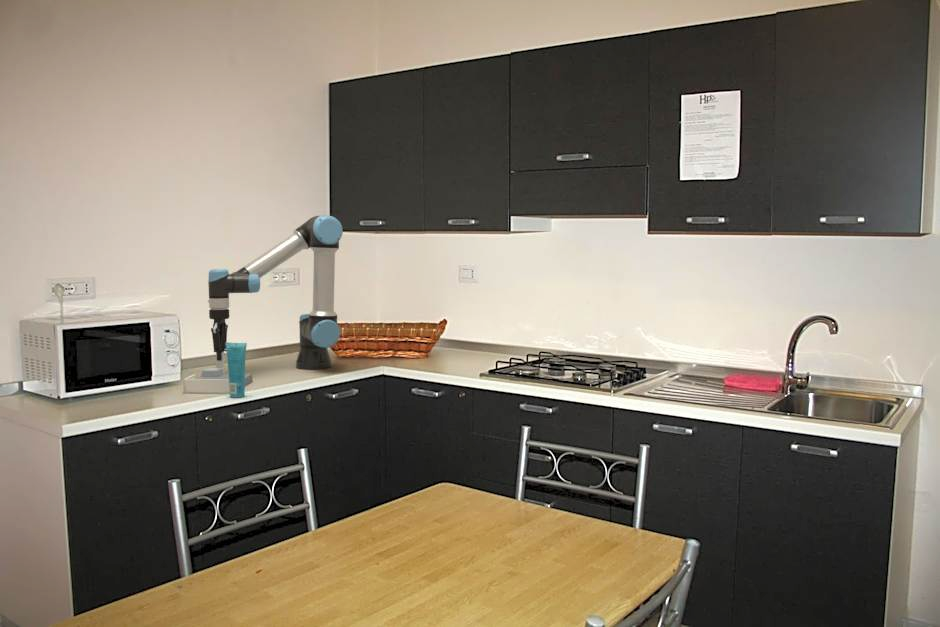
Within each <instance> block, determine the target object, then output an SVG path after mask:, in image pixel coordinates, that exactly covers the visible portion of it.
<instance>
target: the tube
mask: <svg viewBox="0 0 940 627" xmlns="http://www.w3.org/2000/svg"><path fill="white" fill-rule="evenodd" d="M225 345H226V349H225V350H226V351H225V352H226V359H227V370H228V371H227V374H229V387H230V394H229V396H230V398H243V397H245V393H246V392H245V390H246V389H245V387H246V386H245V374H246V372H245V371H246V355H247V354H246V353H247V352H246V351H247V345H248V343H247V342H226V343H225Z"/></svg>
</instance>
